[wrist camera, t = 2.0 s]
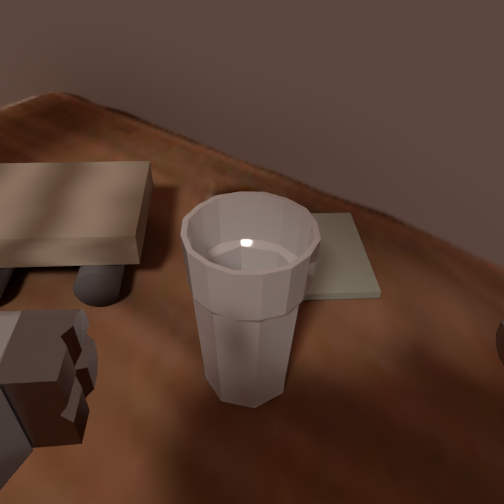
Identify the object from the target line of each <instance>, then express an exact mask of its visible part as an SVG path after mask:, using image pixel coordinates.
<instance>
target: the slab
mask: <svg viewBox="0 0 504 504" xmlns="http://www.w3.org/2000/svg"><path fill="white" fill-rule="evenodd" d="M152 191H153V180H152V172H151V164H150V161H130V162H60V163H0V299H1V297H2V295H3V292H4V290H5V288H6V286H7V284H8V282H9V280H10V278H11V276H12V274H13V271H14V269H15V267H46V266H80V268H79V272H78V275H77V278H76V281H75V284H74V293H75V295H76V297H77V298H78V299H79V300H80V301H82V302H83V303H85V304H87V305H90V306H95V307H103V306H108V305H111V304H112V303H114V302H115V301H116V300H117V298H118V296H119V292H120V287H121V282H122V277H123V273H124V268H125V264H140V260H141V254H142V248H143V243H144V237H145V231H146V226H147V220H148V214H149V209H150V203H151V197H152Z"/></svg>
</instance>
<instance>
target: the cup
mask: <svg viewBox="0 0 504 504" xmlns="http://www.w3.org/2000/svg"><path fill="white" fill-rule="evenodd" d="M180 235H181V242H182V248H183V254H184V261H185V267H186V274H187V280H188V284H189V287H190V290H191V293H192V296H193V300H194V307H195V313H196V319H197V325H198V332H199V338H200V344H201V351H202V357H203V363H204V372H205V378H206V379H207V381H208V382H209V384H210V385H211V387H212V388H213V390H214V391H215V393H216V394H217V396H218V398H219V399H220V401H222V402H227V403H231V404H236V405H241V406H245V407H250V408H256V407H258V406H260V405H262V404H264V403H266V402H267V401H269V400H271V399H273V398H275V397H277V396H278V395H280V394H282V393H283V392H284V387H285V382H286V377H287V372H288V367H289V360H290V353H291V348H292V342H293V337H294V332H295V327H296V321H297V316H298V311H299V305H300V303H301V302H302V301H303V299H304V297H305V296H306V294H307V292H308V291H309V289H310V287H311V285H312V280H313V276H314V271H315V266H316V261H317V256H318V251H319V246H320V241H321V238H320V233H319V228H318V223H317V221H316V220H315V219H314V217H313V216H312V215H311V213H310V212H309V211H308V209H307V208H305V207H303V206H301V205H299V204H297V203H295V202H294V201H292V200H290V199H288V198H285V197H281V196H278V195H274V194H270V193H267V192H235V193H229V194H223V195H216V196H214V197H212V198H210V199H208V200H206V201H205V202H203V203H201V204H199V205H197V206H196V207H195V208H194V209H193V210H192V211H191V212H189V213H188V214H187V215H186V216H185V217H184V218H183V222H182V228H181V234H180Z"/></svg>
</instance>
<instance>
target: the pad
mask: <svg viewBox="0 0 504 504" xmlns="http://www.w3.org/2000/svg"><path fill="white" fill-rule="evenodd" d="M311 215H312V216H313V217H314V219H315V220H316V221H317V223H318V228H319V233H320V238H321V241H320V246H319V251H318V256H317V261H316V266H315V271H314V276H313V280H312V285H311V287H310V289H309V291H308V292H307V294H306V296H305V297H304V299H303V300H323V299H354V298H380V294H381V290H380V287H379V285H378V282H377V280H376V277H375V274H374V272H373V269H372V267H371V264H370V262H369V259H368V256H367V254H366V251H365V249H364V246H363V244H362V241H361V239H360V236H359V233H358V231H357V228H356V226H355V223H354V221H353V218H352V215H351V213H311Z"/></svg>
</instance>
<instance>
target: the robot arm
mask: <svg viewBox="0 0 504 504" xmlns="http://www.w3.org/2000/svg"><path fill="white" fill-rule="evenodd" d="M88 326H89V322H88V319H87V316H86V313H85V311H84V310H81V309H71V310H26V311H0V490H1V489H2V487H3V486H4V485H5V484H6V483H7V481H8V480H9V479H10V478H11V477H12V475H13V474H14V473H15V472H16V471H17V470H18V468H19V467H20V466H21V465H22V464H23V462H24V461H25V460H26V459H27V458H28V456H29V455H30V454H31V453H32V452H33V449H32V448H37V447H49V446H61V445H73V444H82V441H83V437H84V433H85V428H86V424H87V419H88V415H89V411H90V410H89V407H88V404H87V401H86V397H87V396H88V395H89V394H90V393H91V392H92V391H93V390H94V388H95V383H96V378H97V366H98V358H97V349H96V345H95V342H94V339H92V338H91V337H89V336H88V335H87V330H88ZM496 348H497V351H498V355H499V358H500V359H501V361H502V363H503V365H504V320H503V321H501V323H500V325H499V328H498V330H497V333H496Z"/></svg>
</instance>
